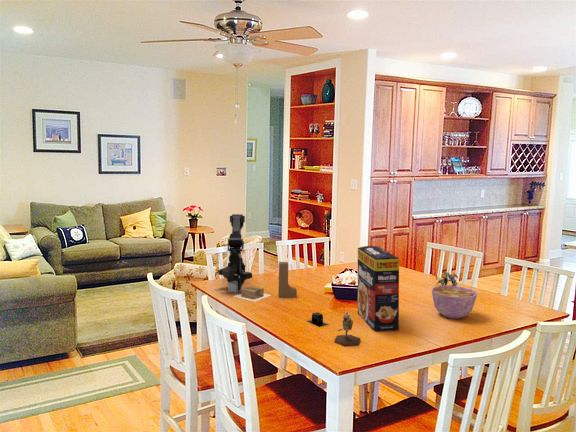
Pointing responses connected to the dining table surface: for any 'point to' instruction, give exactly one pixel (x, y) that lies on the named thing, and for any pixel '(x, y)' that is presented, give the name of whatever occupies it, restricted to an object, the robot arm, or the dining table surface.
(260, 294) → the walnut base
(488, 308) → the dining table surface
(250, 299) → the felt mat
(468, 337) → the dining table surface
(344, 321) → the robot figurine
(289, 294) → the wooden block
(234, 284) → the gray cube
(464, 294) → the bowl of food
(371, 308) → the cereal box
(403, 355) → the dining table surface
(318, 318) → the black block
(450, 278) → the plant sprig
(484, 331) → the dining table surface
